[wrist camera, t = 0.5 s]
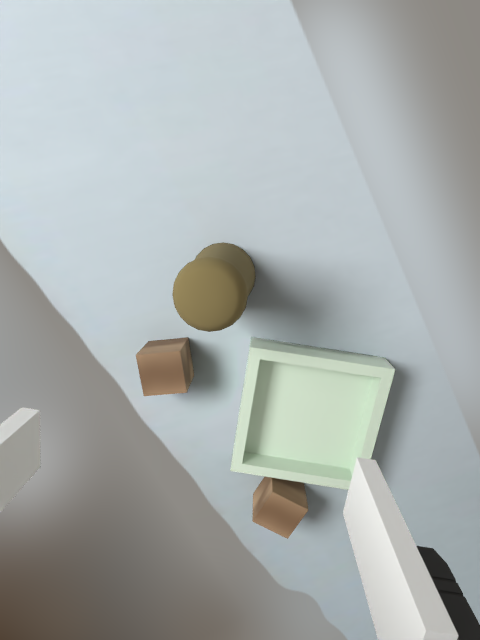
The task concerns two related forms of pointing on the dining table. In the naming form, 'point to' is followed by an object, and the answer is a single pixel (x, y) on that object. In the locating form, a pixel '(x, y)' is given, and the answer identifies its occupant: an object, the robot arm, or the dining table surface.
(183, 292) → the olive tall rounded piece
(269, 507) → the walnut cube
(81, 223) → the dining table surface
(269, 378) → the tray
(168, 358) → the walnut cube
